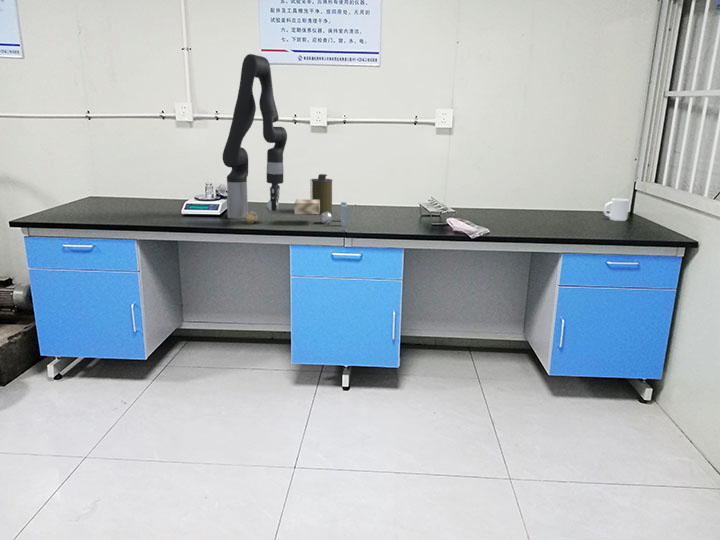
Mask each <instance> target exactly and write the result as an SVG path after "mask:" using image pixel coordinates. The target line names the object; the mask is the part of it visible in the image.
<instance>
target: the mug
mask: <svg viewBox="0 0 720 540" xmlns="http://www.w3.org/2000/svg"><path fill="white" fill-rule="evenodd" d="M608 206H610V207H609V212H607V208H608ZM629 207H630V199H627V198H621V197H620V198H617V197H616V198H615V197H614V198H611V200H610V201H609V202H606V203H605V205H604V206H603V209H602V210H603V211H602V213H603V214H604V216H606V217H608V219H609V220H610V221H615V222H625V221H627V220H628V215H629V214H628V213H629Z"/></svg>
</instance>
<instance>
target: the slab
mask: <svg viewBox="0 0 720 540" xmlns="http://www.w3.org/2000/svg"><path fill="white" fill-rule="evenodd" d="M293 207H294V215H314V214H319V212H320V200H312V199H295V201H294V206H293Z"/></svg>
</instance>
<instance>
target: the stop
mask: <svg viewBox="0 0 720 540" xmlns="http://www.w3.org/2000/svg"><path fill="white" fill-rule="evenodd" d="M340 222H341V224H340V226H341V227H347V226H348V224H347V223H348V205H347V201H340Z"/></svg>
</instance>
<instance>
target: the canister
mask: <svg viewBox="0 0 720 540" xmlns="http://www.w3.org/2000/svg"><path fill="white" fill-rule="evenodd" d="M327 176H328V174H326V173H325V174H324V173H319V174H318V177H317V178H311V200H320V212H319V214H317V215H316V216H321V214H322V213H323V212H325V211H327V212H330V213H331V215H332V214H333V181H334V180H333V179H331V178H327Z"/></svg>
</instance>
